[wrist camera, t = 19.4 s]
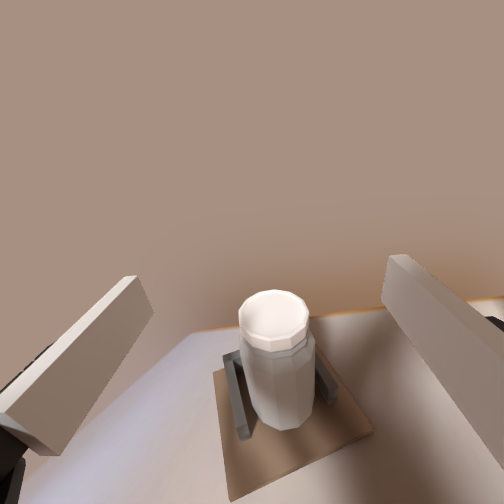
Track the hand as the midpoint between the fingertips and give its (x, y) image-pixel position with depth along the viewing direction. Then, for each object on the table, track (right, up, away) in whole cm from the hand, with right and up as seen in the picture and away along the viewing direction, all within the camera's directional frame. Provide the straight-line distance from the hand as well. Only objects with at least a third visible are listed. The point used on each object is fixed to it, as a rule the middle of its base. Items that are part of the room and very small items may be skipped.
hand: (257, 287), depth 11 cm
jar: (+4, -21, +22) cm, 31 cm away
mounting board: (+4, -22, +22) cm, 32 cm away
